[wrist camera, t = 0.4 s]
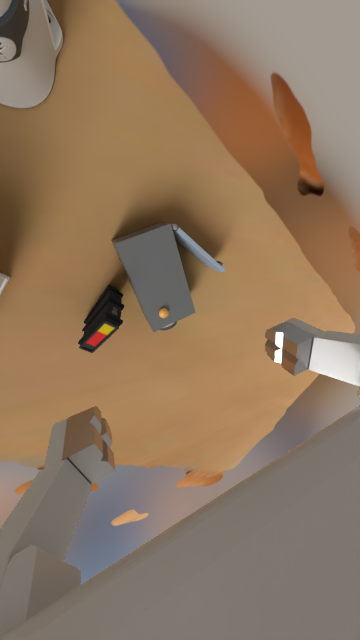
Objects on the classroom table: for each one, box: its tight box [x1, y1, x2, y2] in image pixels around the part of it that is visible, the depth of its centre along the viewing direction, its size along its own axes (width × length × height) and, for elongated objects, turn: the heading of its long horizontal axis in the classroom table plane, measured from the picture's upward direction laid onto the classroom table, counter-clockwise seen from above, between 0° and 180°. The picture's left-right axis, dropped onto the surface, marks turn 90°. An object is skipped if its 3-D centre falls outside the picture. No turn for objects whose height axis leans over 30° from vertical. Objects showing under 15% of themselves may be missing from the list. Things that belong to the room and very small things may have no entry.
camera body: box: [111, 223, 195, 332], centre depth 50 cm, size 24×12×9 cm, turn 17°
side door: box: [171, 224, 225, 273], centre depth 50 cm, size 18×2×8 cm, turn 52°
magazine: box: [78, 285, 124, 353], centre depth 47 cm, size 4×13×15 cm, turn 140°
